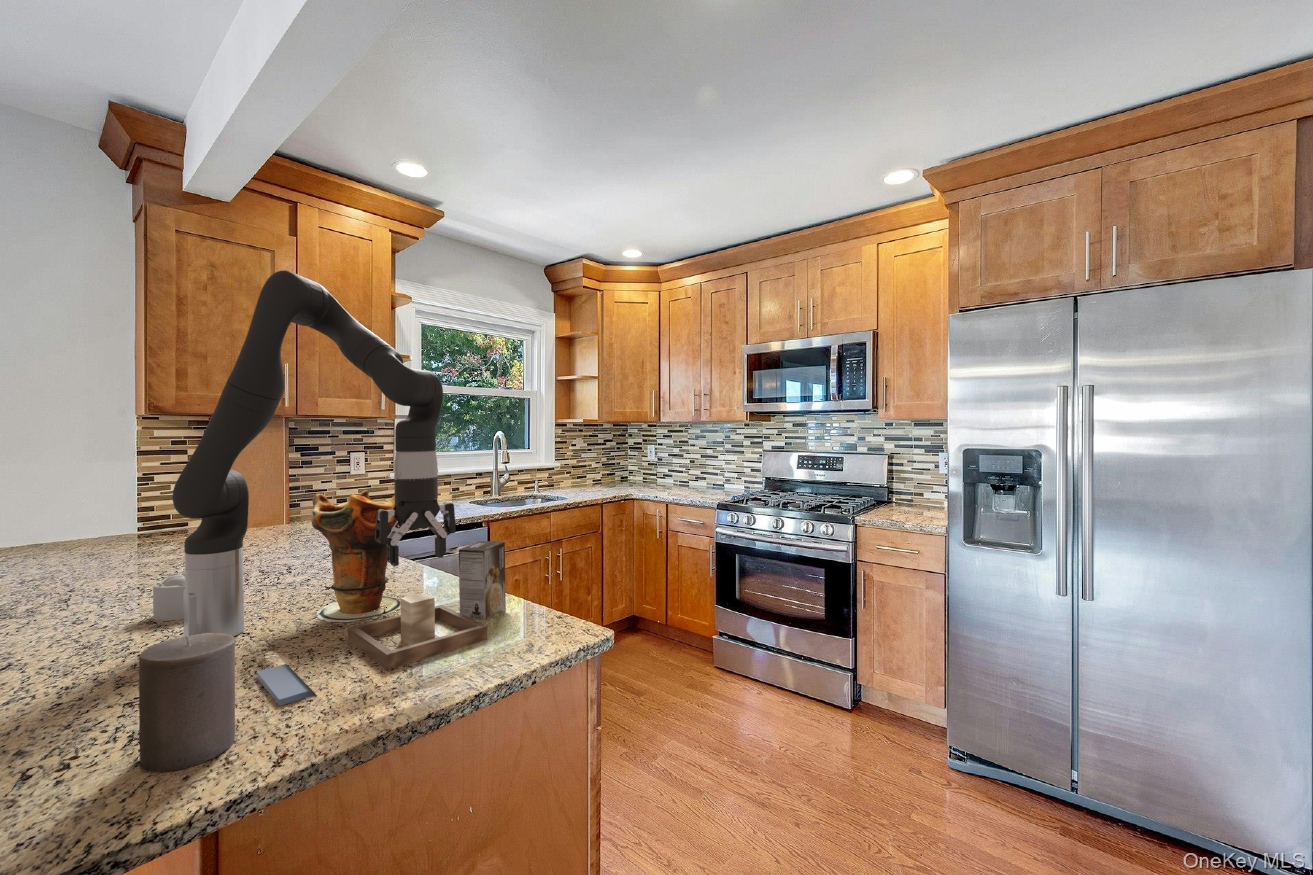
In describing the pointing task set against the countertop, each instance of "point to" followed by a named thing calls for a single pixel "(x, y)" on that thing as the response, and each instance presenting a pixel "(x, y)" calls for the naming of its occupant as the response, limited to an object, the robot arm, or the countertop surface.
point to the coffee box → (482, 579)
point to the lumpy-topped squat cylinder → (169, 598)
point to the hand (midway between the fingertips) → (417, 561)
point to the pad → (284, 684)
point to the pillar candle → (186, 701)
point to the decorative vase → (355, 557)
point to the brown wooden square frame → (422, 650)
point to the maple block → (417, 618)
